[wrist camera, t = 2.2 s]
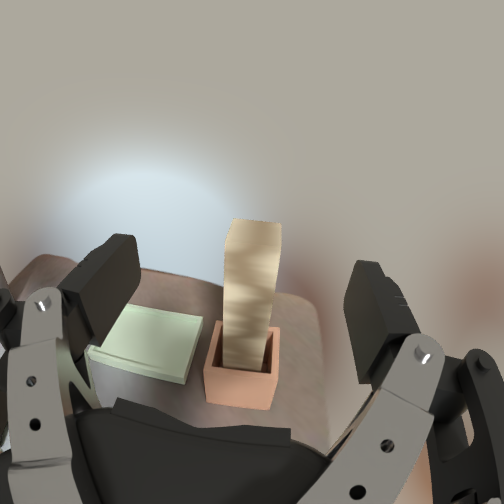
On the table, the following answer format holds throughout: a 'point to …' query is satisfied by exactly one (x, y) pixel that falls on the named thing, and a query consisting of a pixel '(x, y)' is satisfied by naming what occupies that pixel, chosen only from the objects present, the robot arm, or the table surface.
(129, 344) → the tray
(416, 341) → the robot arm
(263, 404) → the salmon pink open box
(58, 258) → the table surface
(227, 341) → the post
